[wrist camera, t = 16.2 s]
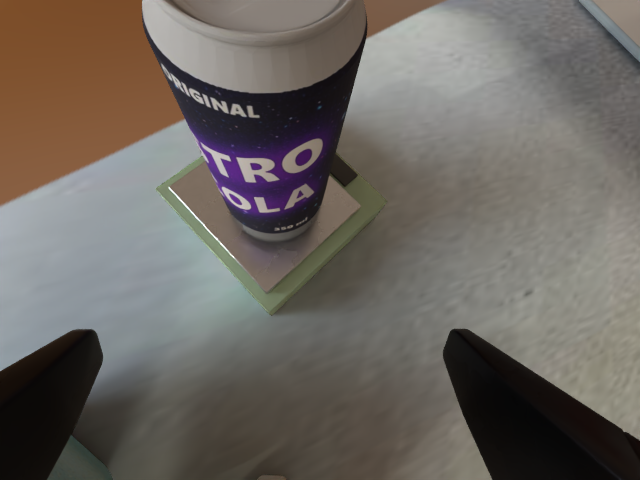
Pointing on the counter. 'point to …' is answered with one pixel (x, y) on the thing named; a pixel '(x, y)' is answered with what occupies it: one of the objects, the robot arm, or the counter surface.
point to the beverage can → (262, 95)
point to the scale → (318, 259)
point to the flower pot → (78, 464)
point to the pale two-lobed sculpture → (271, 477)
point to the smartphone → (619, 20)
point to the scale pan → (256, 247)
